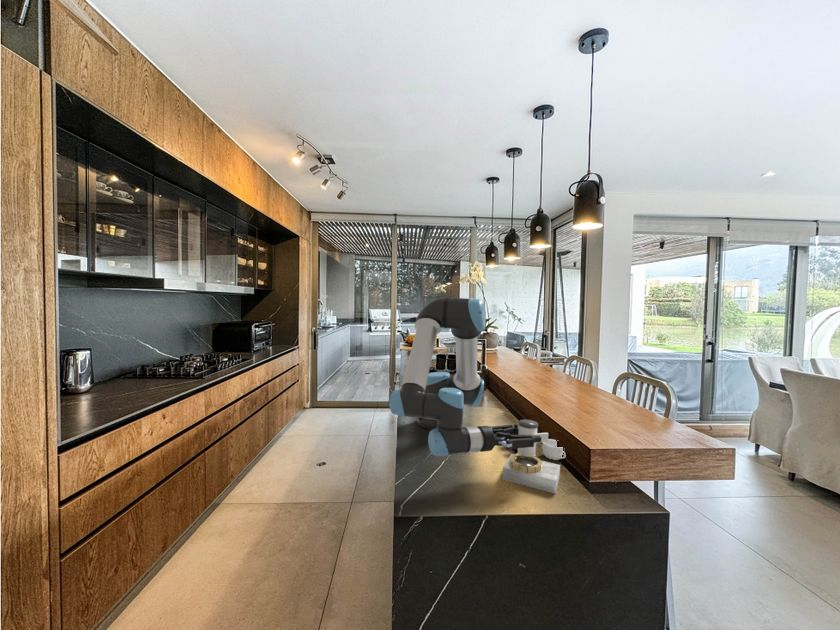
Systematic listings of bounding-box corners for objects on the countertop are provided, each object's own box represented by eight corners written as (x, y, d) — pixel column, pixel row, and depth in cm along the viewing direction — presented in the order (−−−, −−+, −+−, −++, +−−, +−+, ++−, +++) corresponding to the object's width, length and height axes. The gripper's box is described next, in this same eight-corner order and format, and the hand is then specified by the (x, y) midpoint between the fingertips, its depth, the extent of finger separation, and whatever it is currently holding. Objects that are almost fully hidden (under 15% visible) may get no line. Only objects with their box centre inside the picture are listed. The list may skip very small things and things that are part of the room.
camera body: (502, 479, 116) (503, 462, 115) (510, 464, 126) (511, 449, 126) (555, 493, 109) (556, 476, 108) (559, 476, 119) (560, 460, 119)
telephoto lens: (515, 454, 116) (517, 423, 116) (519, 447, 122) (520, 418, 121) (534, 458, 114) (536, 427, 113) (537, 451, 119) (539, 421, 119)
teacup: (537, 454, 136) (538, 440, 136) (553, 452, 139) (554, 438, 139) (556, 466, 127) (557, 451, 127) (573, 463, 130) (574, 448, 130)
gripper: (464, 439, 121) (523, 434, 128) (492, 464, 103) (559, 456, 111) (465, 417, 120) (525, 413, 128) (494, 438, 103) (561, 432, 110)
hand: (541, 433), depth 119 cm, fingers closed on telephoto lens, 6 cm apart
